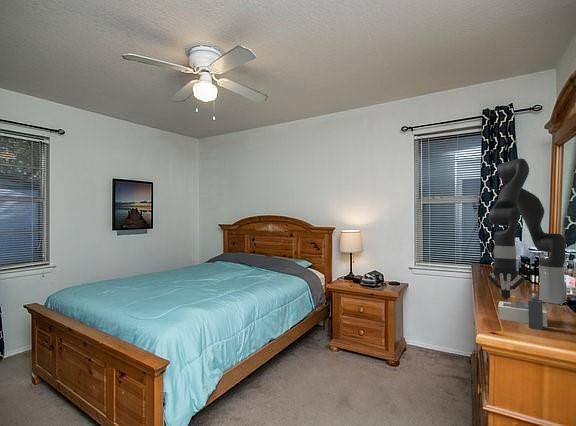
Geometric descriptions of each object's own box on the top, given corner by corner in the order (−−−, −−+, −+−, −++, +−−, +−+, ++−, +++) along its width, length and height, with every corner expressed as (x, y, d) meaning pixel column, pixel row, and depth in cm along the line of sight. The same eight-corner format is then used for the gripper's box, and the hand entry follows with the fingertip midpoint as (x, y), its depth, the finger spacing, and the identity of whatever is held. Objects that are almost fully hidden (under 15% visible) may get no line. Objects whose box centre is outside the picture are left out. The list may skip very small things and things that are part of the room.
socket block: (499, 312, 132) (499, 301, 132) (545, 319, 123) (545, 306, 123) (498, 319, 124) (498, 306, 124) (547, 326, 115) (546, 312, 115)
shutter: (511, 303, 128) (511, 293, 128) (532, 305, 124) (532, 295, 124) (511, 306, 123) (510, 296, 123) (533, 309, 118) (533, 299, 118)
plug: (528, 325, 116) (527, 291, 117) (542, 327, 114) (541, 293, 114) (529, 328, 113) (528, 293, 114) (543, 330, 111) (542, 295, 111)
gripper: (485, 256, 128) (486, 298, 128) (525, 258, 120) (526, 303, 120) (486, 254, 134) (487, 294, 134) (525, 256, 126) (526, 299, 126)
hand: (506, 298), depth 127 cm, fingers closed
